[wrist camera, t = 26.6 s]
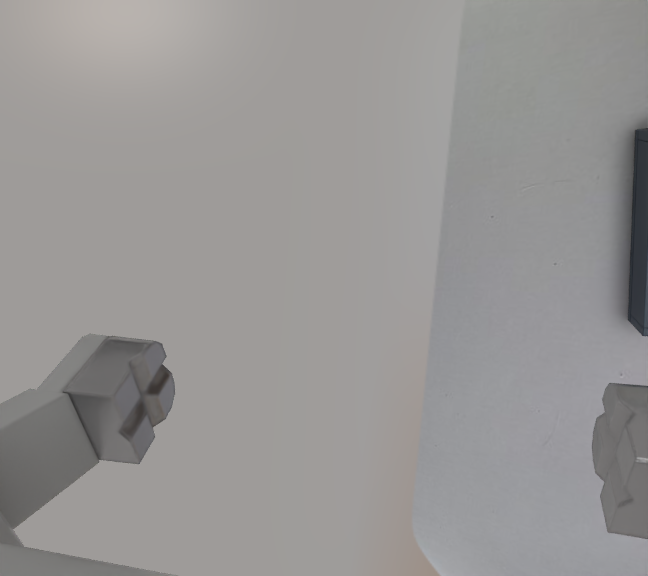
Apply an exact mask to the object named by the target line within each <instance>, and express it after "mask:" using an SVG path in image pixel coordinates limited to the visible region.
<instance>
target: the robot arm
mask: <svg viewBox="0 0 648 576" xmlns="http://www.w3.org/2000/svg"><path fill="white" fill-rule="evenodd" d="M165 358H166V354H165V351H164V348H163V345H162V344H161V343H159V342H156V341H151V340H142V339H134V338H125V337H116V336H103V335H95V334H89V335H86V336H84V337H82V338H81V339H80V340H79V341H78V343H77V344H76V345H75V346H74V347H73V348H72V350H71V351H70V352H69V353H68V354H67V355H66V357H65V358H64V359H63V360H62V361H61V362H60V363H59V364H58V366H57V367H56V368H55V369H54V370H53V371H52V373H51V374H50V375H49V376H48V377H47V379H46V380H45V381H44V382H43V383H42V384H41V385H40V386H39V387H38V389H37V390H35V389H29V390H27V391H25V392H23V393H21V394H19V395H17V396H15V397H13V398H11V399H9V400H7V401H5V402H3V403H1V404H0V576H176V575H171V574H166V573H160V572H155V571H150V570H144V569H139V568H134V567H129V566H123V565H118V564H113V563H107V562H102V561H97V560H91V559H86V558H81V557H75V556H70V555H65V554H60V553H54V552H49V551H44V550H38V549H33V548H27V547H24V545H23V544H22V542H21V541H20V539H19V538H18V536H17V535H16V534H15V532H14V531H13V529H14V528H15V527H17V526H18V525H19V524H20V523H22V522H23V521H25V520H26V519H27V518H28V517H29V516H31V515H32V514H33V513H35V512H36V511H37V510H39V509H40V508H41V507H42V506H44V505H45V504H46V503H48V502H49V501H50V500H51V499H53V498H54V497H55V496H57V495H58V494H59V493H60V492H62V491H63V490H64V489H66V488H67V487H68V486H69V485H71V484H72V483H73V482H75V481H76V480H77V479H78V478H80V477H81V476H82V475H84V474H85V473H86V472H87V471H89V470H90V469H91V468H93V467H94V466H95V465H96V464H98V463H99V460H106V461H115V462H123V463H133V464H140V462H141V460H142V459H143V457H144V455H145V453H146V452H147V450H148V448H149V447H150V445H151V443H152V442H153V440H154V438H155V434H154V430H153V427H154V426H156V425H157V424H159V423H160V422H162V421H163V420H165V419H166V417H167V415H168V413H169V412H170V410H171V408H172V404H173V400H174V395H175V385H174V379H173V376H172V373H171V372H170V371H169V370H168V369H167V368H166V367H165V366H164V365H163V364H162V363H163V362H164V360H165ZM602 401H603V405H604V409H605V413H603V414H602V415H600V416H599V417H597V419H596V423H595V427H594V431H593V442H592V453H593V462H594V468H595V473H596V474H597V475H598V476H599V477H600V478H601V479H602V480H603V481H604V486H603V489H602V492H601V495H600V498H601V503H602V507H603V512H604V517H605V522H606V526H607V531H608V532H609V533H615V534H621V535H627V536H633V537H639V538H645V539H648V386H641V385H629V384H617V383H609V384H608V386H607V387H606V389H605V392H604V395H603V399H602Z"/></svg>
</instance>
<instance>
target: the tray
mask: <svg viewBox="0 0 648 576" xmlns="http://www.w3.org/2000/svg"><path fill="white" fill-rule="evenodd" d="M628 320H629V321H630V322H631V324H632V325H633V326H634V327H635V328H636V329H637V330H638V331H639V332H640V333H641V334H642V336H648V128H646V129H637V130H636V136H635V161H634V186H633V211H632V236H631V260H630V285H629V310H628Z"/></svg>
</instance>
